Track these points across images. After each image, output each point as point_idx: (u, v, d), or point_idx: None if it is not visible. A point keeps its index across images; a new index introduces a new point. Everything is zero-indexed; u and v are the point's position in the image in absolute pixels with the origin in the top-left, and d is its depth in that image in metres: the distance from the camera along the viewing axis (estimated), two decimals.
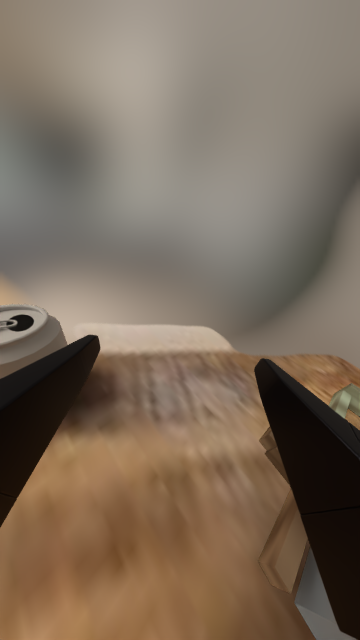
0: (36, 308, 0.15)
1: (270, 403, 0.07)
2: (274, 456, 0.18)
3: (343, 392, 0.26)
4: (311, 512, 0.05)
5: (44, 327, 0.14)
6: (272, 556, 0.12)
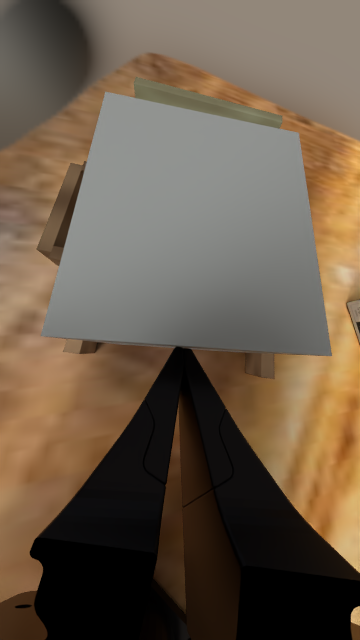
0: None
1: (180, 393, 0.07)
2: None
3: None
4: (185, 505, 0.05)
5: None
6: None
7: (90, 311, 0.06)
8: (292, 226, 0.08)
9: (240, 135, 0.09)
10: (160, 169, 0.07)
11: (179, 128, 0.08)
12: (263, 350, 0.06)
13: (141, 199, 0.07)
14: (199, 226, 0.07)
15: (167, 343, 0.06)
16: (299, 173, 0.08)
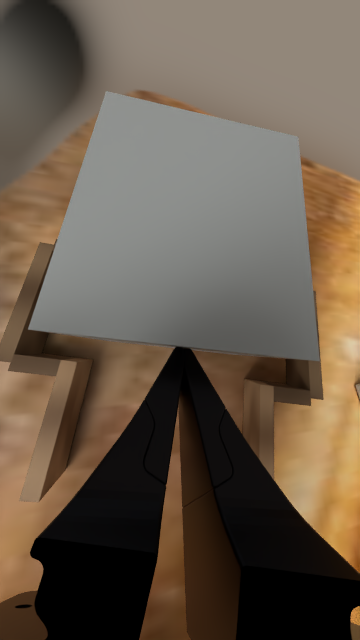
0: None
1: (180, 393, 0.07)
2: None
3: None
4: (185, 505, 0.05)
5: None
6: None
7: (78, 306, 0.06)
8: (286, 229, 0.08)
9: (239, 137, 0.09)
10: (156, 169, 0.07)
11: (178, 129, 0.08)
12: (250, 352, 0.06)
13: (135, 198, 0.07)
14: (193, 226, 0.07)
15: (153, 341, 0.06)
16: (297, 177, 0.08)
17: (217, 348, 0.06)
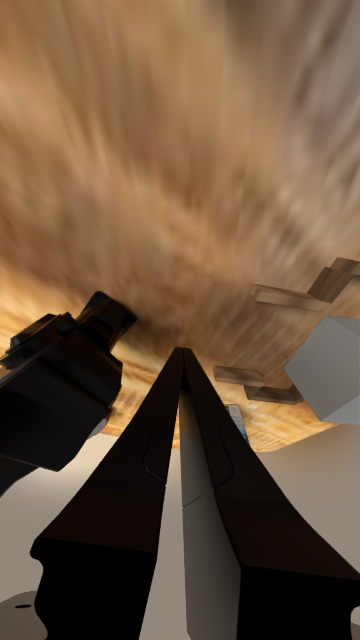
0: None
1: (180, 393, 0.07)
2: (330, 274, 0.16)
3: None
4: (185, 505, 0.05)
5: None
6: (262, 289, 0.17)
7: None
8: None
9: None
10: None
11: None
12: (336, 410, 0.18)
13: None
14: None
15: None
16: None
17: (345, 404, 0.17)
